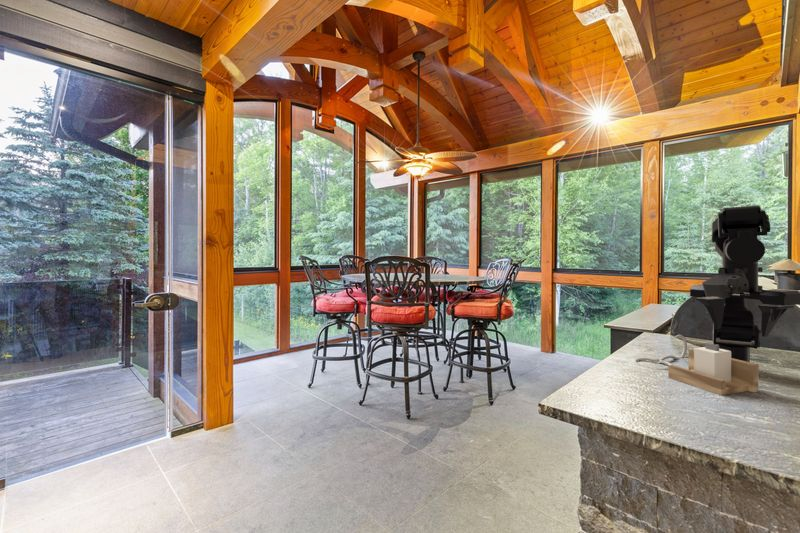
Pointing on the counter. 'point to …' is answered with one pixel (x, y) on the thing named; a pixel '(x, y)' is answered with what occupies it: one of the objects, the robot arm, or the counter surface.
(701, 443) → the counter surface
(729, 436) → the counter surface
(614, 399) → the counter surface
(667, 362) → the hook
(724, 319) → the robot arm
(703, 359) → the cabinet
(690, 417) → the counter surface
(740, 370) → the board
